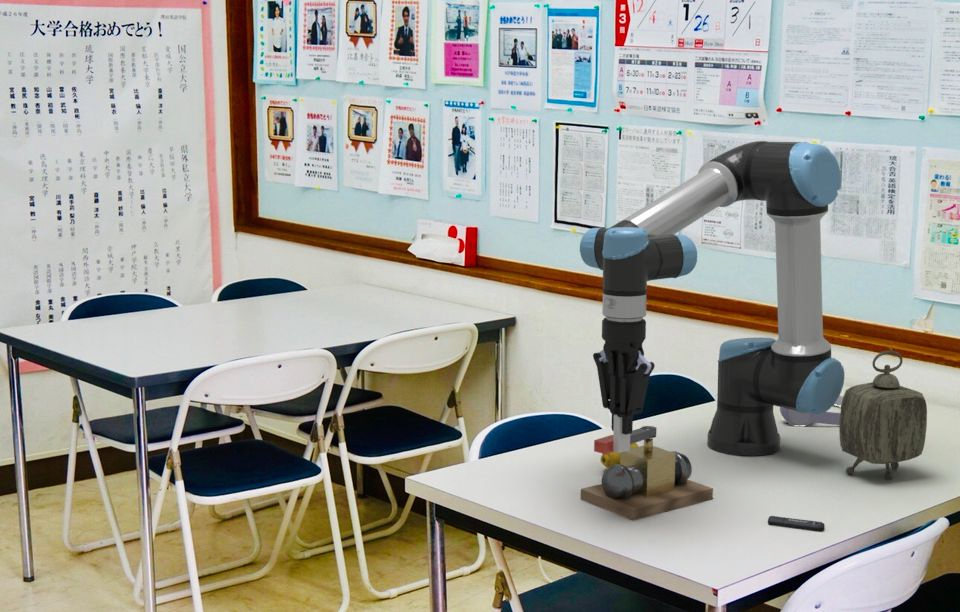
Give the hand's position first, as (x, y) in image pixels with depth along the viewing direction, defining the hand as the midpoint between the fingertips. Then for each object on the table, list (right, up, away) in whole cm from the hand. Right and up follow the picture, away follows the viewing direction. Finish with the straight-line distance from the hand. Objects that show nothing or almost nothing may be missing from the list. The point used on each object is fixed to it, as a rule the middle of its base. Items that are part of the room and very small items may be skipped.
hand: (621, 450), depth 214 cm
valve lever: (+2, +1, +5) cm, 5 cm away
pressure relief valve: (+5, -8, +27) cm, 28 cm away
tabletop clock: (+54, -8, +25) cm, 60 cm away
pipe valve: (+6, -9, +11) cm, 15 cm away
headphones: (+54, -1, +71) cm, 89 cm away
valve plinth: (+6, -10, +11) cm, 16 cm away
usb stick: (+30, -13, -3) cm, 33 cm away
